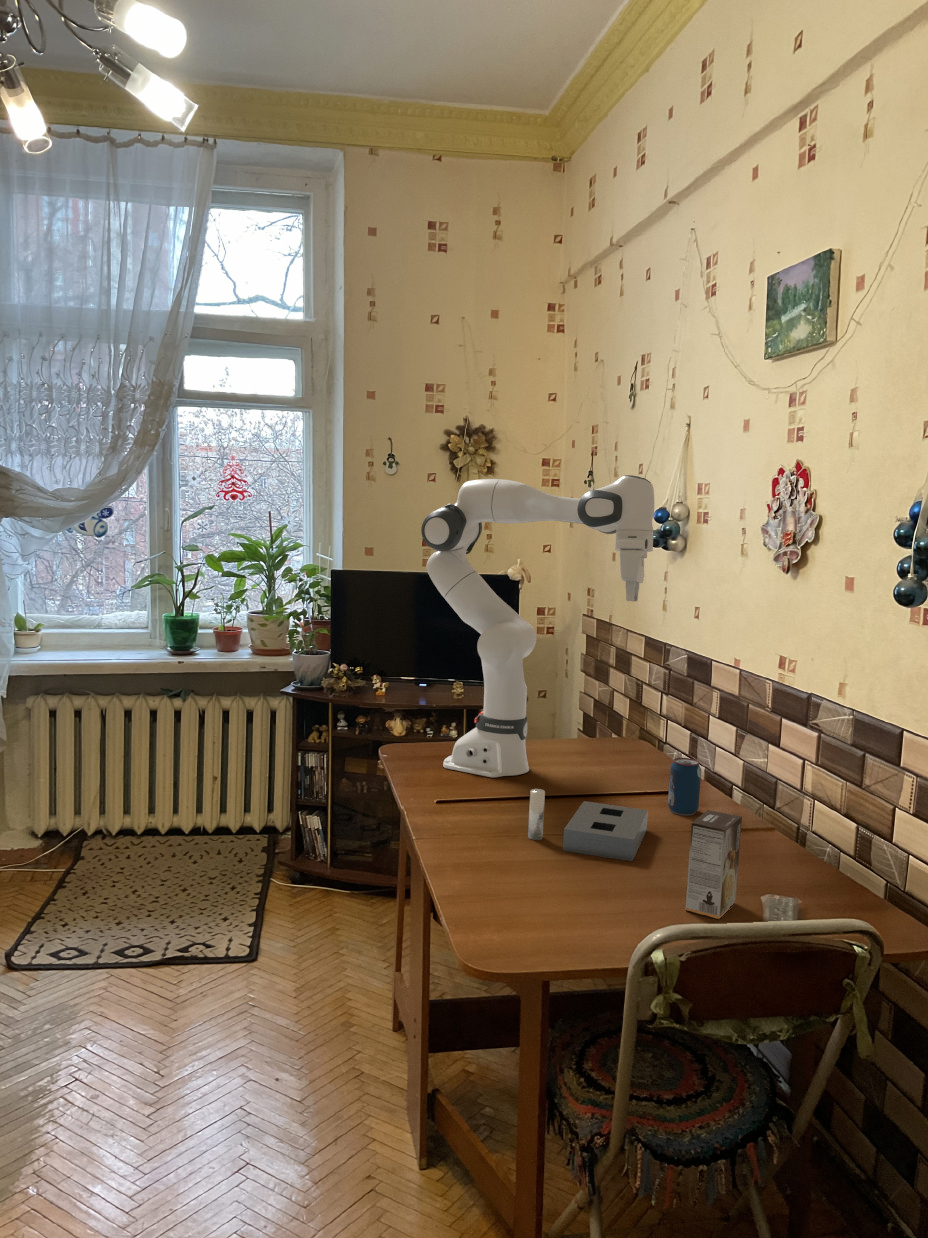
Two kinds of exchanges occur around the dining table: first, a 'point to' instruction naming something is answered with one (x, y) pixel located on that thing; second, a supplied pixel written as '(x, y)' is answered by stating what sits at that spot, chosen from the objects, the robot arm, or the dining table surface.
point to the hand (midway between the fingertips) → (631, 601)
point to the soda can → (684, 786)
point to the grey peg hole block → (605, 831)
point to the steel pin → (536, 814)
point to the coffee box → (713, 862)
